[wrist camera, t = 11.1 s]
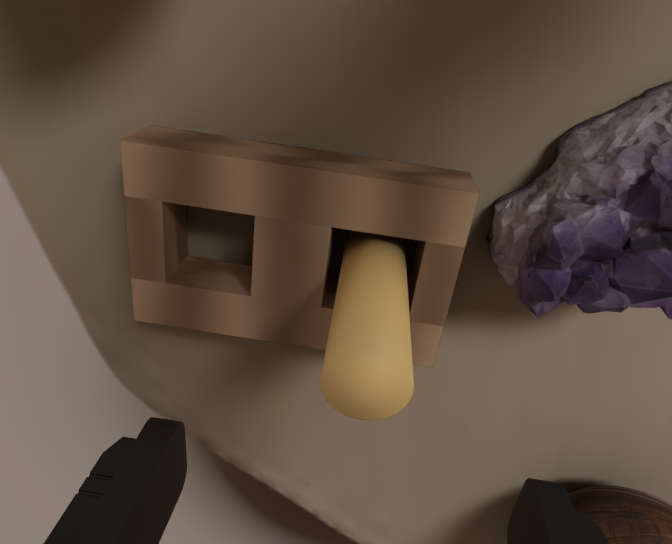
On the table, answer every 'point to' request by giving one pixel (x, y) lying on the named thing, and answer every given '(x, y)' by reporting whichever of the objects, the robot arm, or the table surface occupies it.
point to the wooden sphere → (626, 514)
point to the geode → (595, 216)
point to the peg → (370, 331)
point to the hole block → (283, 233)
